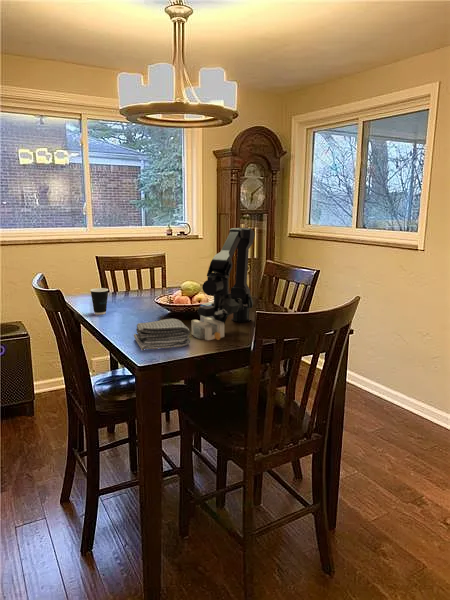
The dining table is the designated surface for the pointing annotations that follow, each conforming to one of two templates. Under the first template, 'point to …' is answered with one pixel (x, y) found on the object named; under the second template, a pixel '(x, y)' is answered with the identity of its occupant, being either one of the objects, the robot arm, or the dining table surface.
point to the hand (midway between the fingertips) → (221, 330)
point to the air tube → (200, 331)
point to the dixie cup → (99, 300)
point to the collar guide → (209, 328)
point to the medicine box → (206, 305)
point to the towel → (162, 334)
